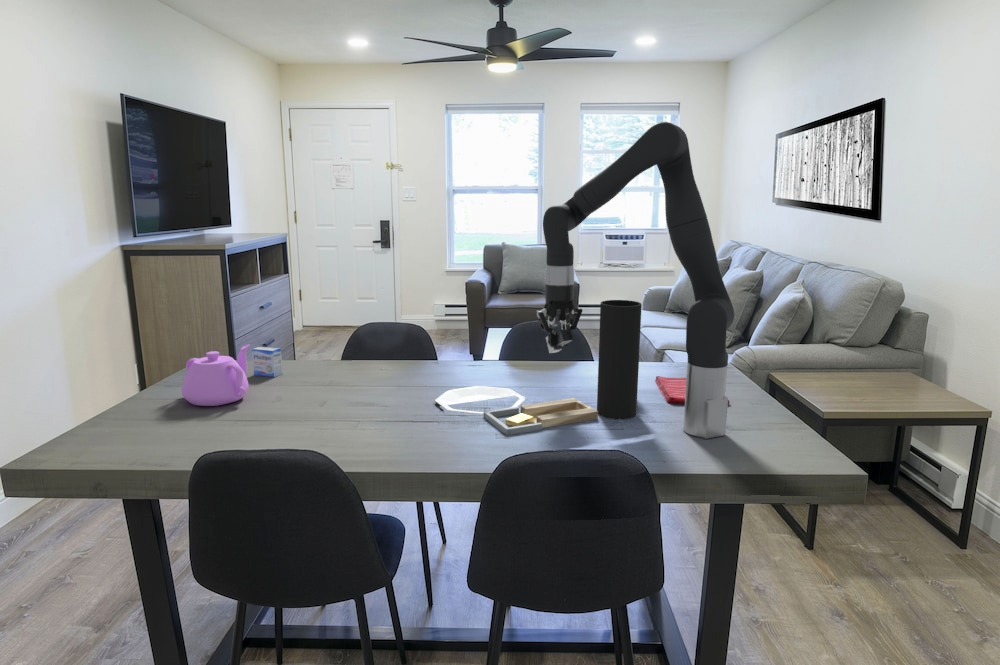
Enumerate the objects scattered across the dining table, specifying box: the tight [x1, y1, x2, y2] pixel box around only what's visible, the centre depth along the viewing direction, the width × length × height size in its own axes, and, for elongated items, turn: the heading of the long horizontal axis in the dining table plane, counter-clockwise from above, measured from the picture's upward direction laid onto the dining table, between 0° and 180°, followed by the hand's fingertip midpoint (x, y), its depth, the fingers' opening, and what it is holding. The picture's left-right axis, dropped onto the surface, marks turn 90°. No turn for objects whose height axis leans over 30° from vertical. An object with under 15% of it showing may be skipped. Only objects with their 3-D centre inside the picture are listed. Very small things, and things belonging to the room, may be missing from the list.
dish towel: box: [654, 375, 730, 405], centre depth 193 cm, size 17×24×3 cm
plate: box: [434, 385, 526, 415], centre depth 183 cm, size 24×24×2 cm
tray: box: [483, 407, 543, 436], centre depth 164 cm, size 14×10×2 cm
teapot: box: [181, 343, 251, 407], centre depth 186 cm, size 22×22×14 cm
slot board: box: [520, 397, 599, 429], centre depth 169 cm, size 12×16×3 cm
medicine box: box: [251, 346, 283, 378], centre depth 210 cm, size 8×4×9 cm, turn 73°
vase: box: [596, 299, 643, 420], centre depth 169 cm, size 10×10×30 cm
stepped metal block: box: [545, 329, 574, 354], centre depth 176 cm, size 4×3×9 cm
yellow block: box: [514, 412, 534, 425], centre depth 165 cm, size 4×3×2 cm
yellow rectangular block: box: [505, 415, 526, 427], centre depth 163 cm, size 4×3×2 cm
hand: (558, 345), depth 176 cm, fingers closed on stepped metal block, 3 cm apart
